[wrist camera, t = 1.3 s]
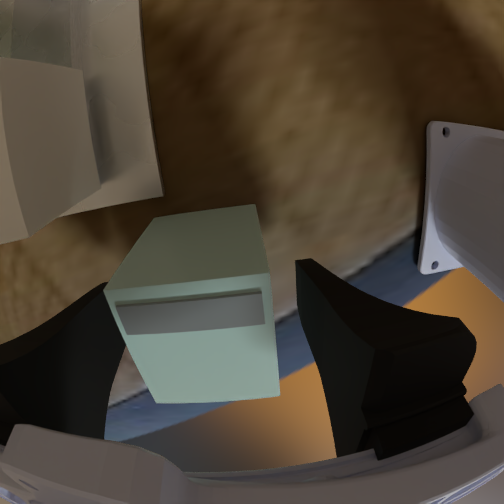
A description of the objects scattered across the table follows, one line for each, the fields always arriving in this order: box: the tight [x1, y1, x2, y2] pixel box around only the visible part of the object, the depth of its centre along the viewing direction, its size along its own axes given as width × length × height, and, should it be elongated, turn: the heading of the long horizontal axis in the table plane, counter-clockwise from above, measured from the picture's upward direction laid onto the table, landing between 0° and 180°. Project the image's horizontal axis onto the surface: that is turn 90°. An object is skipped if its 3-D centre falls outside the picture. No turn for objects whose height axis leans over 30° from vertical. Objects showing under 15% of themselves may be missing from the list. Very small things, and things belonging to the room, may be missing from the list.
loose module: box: [103, 204, 280, 403], centre depth 11 cm, size 4×5×6 cm
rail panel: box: [0, 0, 165, 217], centre depth 8 cm, size 9×19×1 cm, turn 6°
